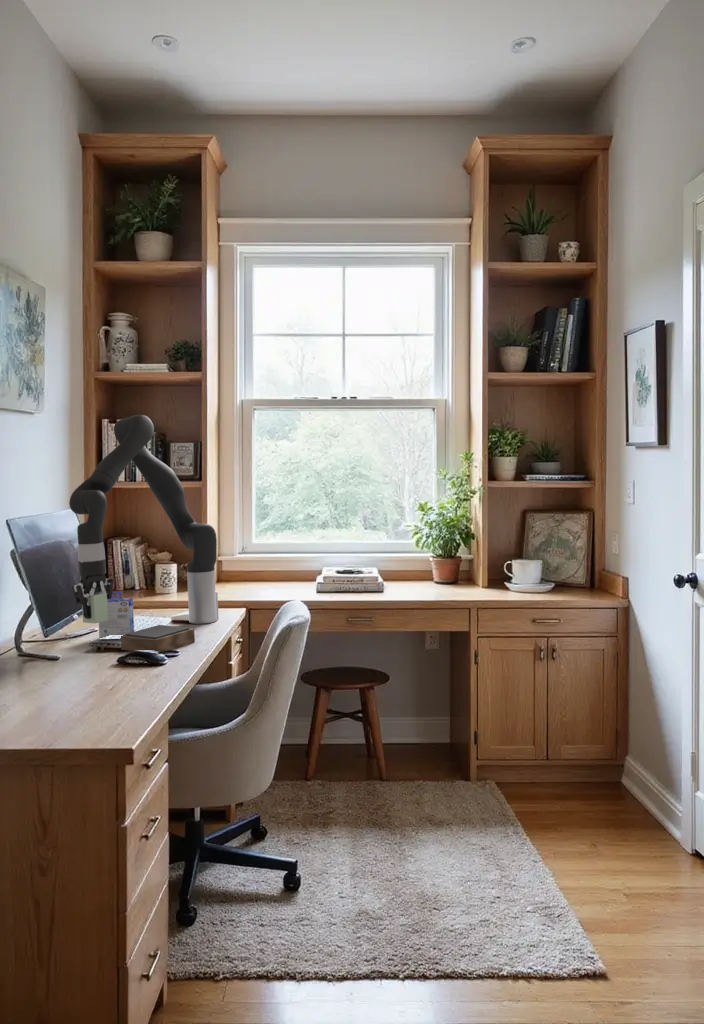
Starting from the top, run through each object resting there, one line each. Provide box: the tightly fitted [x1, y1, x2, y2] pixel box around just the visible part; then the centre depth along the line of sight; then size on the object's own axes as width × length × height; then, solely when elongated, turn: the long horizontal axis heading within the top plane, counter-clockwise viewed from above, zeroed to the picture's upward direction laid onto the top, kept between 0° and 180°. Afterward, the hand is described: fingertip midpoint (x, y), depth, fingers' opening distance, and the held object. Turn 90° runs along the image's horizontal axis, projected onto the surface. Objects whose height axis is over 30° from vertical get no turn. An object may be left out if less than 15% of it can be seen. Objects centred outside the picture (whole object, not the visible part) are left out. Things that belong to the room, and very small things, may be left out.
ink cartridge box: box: [98, 590, 135, 638], centre depth 255 cm, size 10×6×14 cm, turn 92°
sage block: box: [81, 593, 108, 624], centre depth 240 cm, size 5×5×8 cm
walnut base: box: [120, 624, 196, 653], centre depth 243 cm, size 16×14×4 cm
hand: (95, 616), depth 240 cm, fingers closed on sage block, 5 cm apart
